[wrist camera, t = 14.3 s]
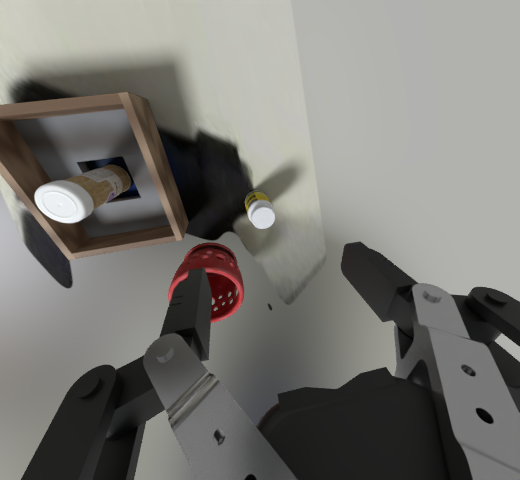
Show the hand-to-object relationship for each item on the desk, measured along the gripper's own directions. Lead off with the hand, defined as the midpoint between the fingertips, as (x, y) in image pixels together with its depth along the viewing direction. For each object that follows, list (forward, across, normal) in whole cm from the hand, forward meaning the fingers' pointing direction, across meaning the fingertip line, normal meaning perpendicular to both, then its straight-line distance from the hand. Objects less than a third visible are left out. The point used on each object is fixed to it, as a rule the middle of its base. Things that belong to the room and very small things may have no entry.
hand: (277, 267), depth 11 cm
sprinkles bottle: (+29, +20, -1) cm, 35 cm away
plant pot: (+29, +9, +19) cm, 35 cm away
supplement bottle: (+29, -3, +6) cm, 29 cm away
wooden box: (+28, +21, -1) cm, 35 cm away
